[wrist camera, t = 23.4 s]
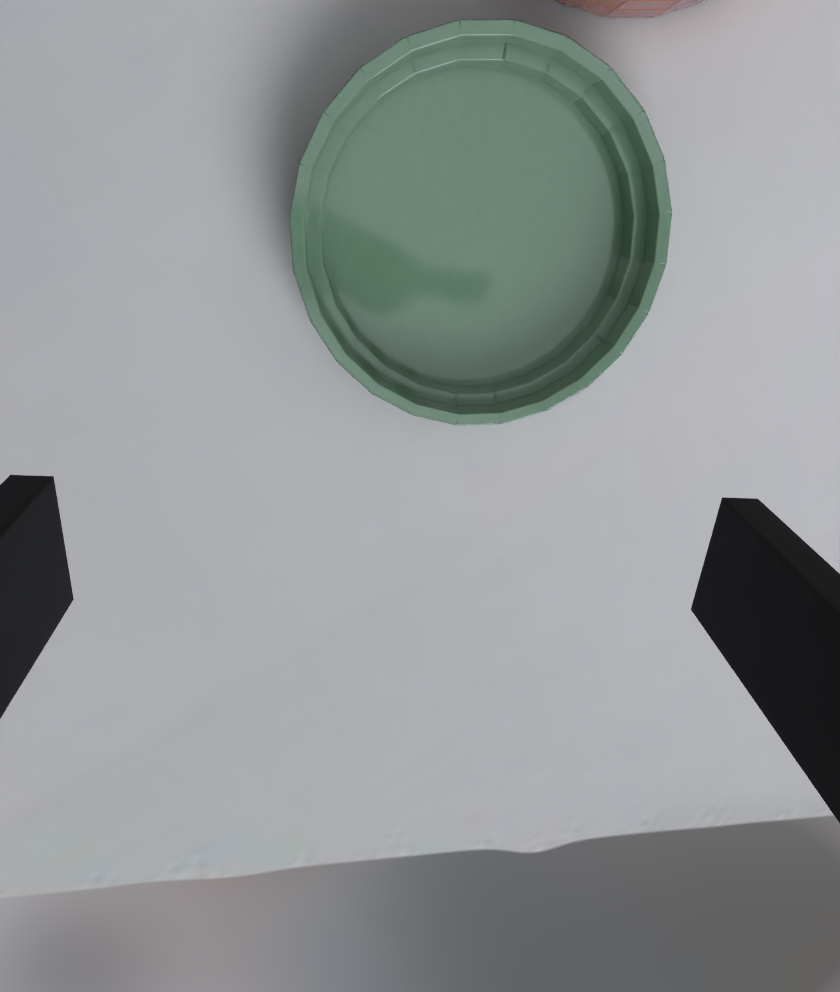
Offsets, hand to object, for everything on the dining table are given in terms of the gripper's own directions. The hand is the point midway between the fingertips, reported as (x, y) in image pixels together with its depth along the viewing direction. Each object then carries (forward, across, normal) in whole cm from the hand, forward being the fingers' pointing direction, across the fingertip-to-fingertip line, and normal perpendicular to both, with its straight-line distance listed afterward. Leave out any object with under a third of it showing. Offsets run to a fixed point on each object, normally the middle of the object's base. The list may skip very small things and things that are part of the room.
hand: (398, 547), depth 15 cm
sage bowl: (+25, +5, +3) cm, 26 cm away
